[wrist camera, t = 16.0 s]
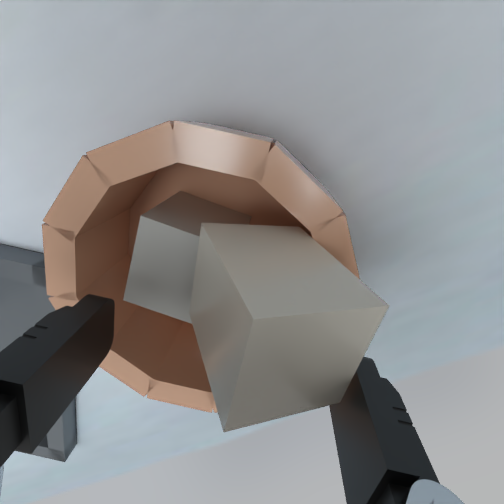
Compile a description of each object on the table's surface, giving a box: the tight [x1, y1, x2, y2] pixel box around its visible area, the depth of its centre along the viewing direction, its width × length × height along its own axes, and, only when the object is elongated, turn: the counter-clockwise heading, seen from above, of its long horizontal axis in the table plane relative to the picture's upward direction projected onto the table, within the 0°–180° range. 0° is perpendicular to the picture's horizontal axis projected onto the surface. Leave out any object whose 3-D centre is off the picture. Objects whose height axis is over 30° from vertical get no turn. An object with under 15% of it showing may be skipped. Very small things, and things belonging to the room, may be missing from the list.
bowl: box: [42, 120, 360, 413], centre depth 14 cm, size 12×12×5 cm
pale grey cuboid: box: [123, 191, 252, 324], centre depth 13 cm, size 4×4×4 cm
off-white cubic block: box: [189, 223, 389, 432], centre depth 9 cm, size 4×4×4 cm
